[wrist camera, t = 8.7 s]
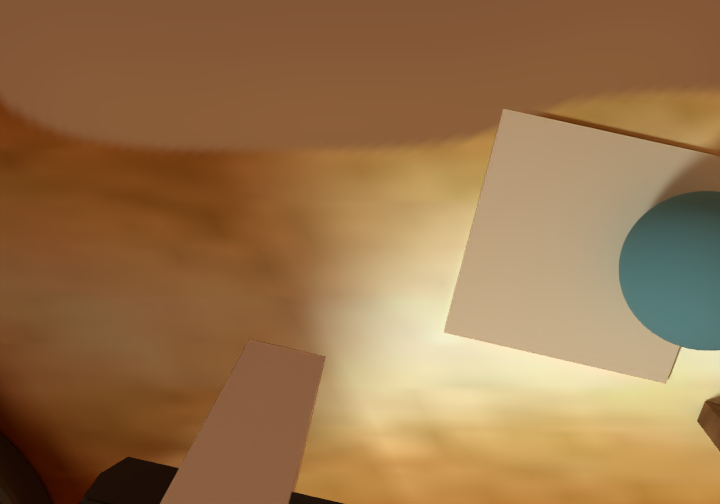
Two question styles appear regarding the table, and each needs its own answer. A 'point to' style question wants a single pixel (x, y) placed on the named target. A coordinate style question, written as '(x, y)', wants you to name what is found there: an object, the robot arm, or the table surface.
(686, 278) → the ball
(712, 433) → the tray
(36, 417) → the table surface
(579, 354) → the beige square tile
